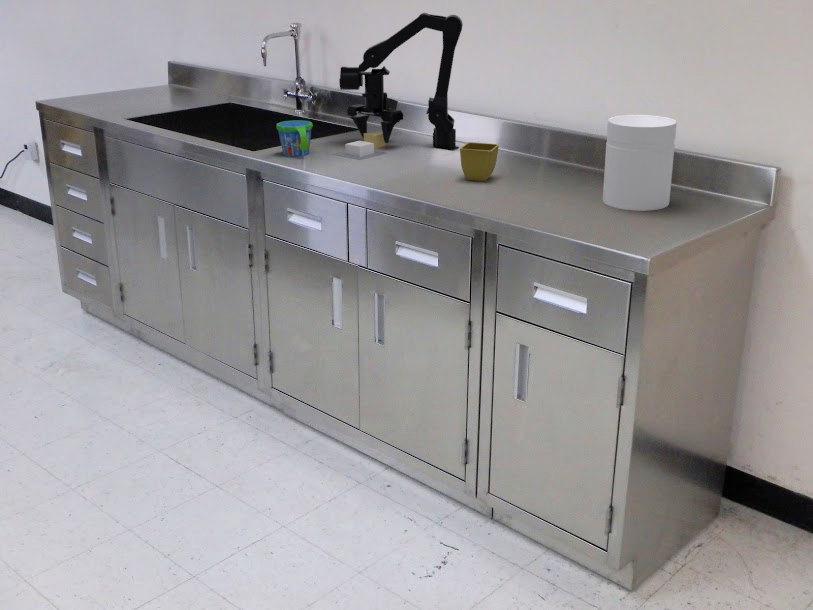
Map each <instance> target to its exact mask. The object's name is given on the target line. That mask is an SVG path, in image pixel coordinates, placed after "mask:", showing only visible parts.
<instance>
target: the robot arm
mask: <svg viewBox="0 0 813 610" xmlns="http://www.w3.org/2000/svg"><path fill="white" fill-rule="evenodd" d="M424 29H429V30H433V31H438V32H441V33H442V51H441V57H440V63H439V68H438V69H439V70H438V76H437V83H436V89H435V93H434V97H430V96H429V98H428V107H427V109H426V115H427V118H428V121H429V122H430V124H431V125H433V126H434V128H433V133H432V146H431V148H433V149H438V150H445V151H455V150H458V149H460V147H459V146H458V145H456V143H457V141H456V140H457V139H456V137H457V136H456V134H457V132H456V131H457V130H456V128H454V126H455V119H454V118H453V116H451V115H450V114H449V103H448V102H449V101H448V100H449V99H448V97H449V96H448V95H449V93H448V92H449V87H450V86H449V85H450V81H451V75H452V68H453V64H454V63H453V62H454V57H455V56H454V55H455V50H456V47H457V44H458V41H459V39H460V36H461V33H462V30H463V19H461V17H460V16H459V15H455V14H450V15H448V16H443V15H438V14H437V15H436V14H429V13H428V12H427V13H426V12H422V13H420V14H419V15H418V17H416V18H415V19H413V20H412V21H410V22H409V23H407V25H405V26H404V27H402V28H401V29H399V31H397V32H395V33H394V34H393V35H391V36H390V37H388V38H387V39H385V40H382V41H380V42H378V43H376V44H374V45H372V46H370V47H368V48H367V49H366V50H365V51H364V53H363V56H362V59H363V60H362V62H361V63H360V64H359V65H358V66H355V67H353V66H341V67H340V71H339V78H338V79H339V80H338V81H339V82H338V83H339V89H340V90H341V91H342V90H343V91H351V90H352V91H356V90H357V91H359V90H360V88H361V87H363V86H364V93H362V94H361V96H362V97H363V98H364V100H365V103H364V104H360V103H358V104H353V105H348V108H347V110H346V111H347V116H348V117H350V120H352V122H354V124H355V126H356V128H357V130H358V132H359V133H360V136H361V137H362V139H363V140H364V133H368V119H369V117H370V116H372V117H373V116H374V117H379V118H381V121H380V126H381V130H382V131H381V132H383V137H384V141H385V143H387V144H388V143H389V142H390V141H389V140H390V138H391V134H392V131H393V129H394V127H395V125H396V124H397V123H399V122H400V121H401V120H404V112H403V111H402V110H401V109H397V107H398V105H399V104H398V102H399V100H395V99H393V98H390V97H388V93H387V92H384V91H385V89H384V85H385V84H384V76H389V75H390V73H391V71H390V70H388V69H387V68H386V66H385V65H383V67H381V68H378V67H379V66H380V65H381V64H383V62H384V61H385V60H386V59H387V58H388V57H389V56H390V55H391V54H392V53H393V52H394V51H396V50H397V48H399V47H400V46H402V45H403V44H405V43H406V42H407V41H409V40H410V39H411V38H413V37H414V36H416V35H417V34H418V33H419V32H421V31H422V30H424ZM370 68H372V69H371V71H368V70H369V69H370Z"/></svg>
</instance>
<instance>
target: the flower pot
mask: <svg viewBox="0 0 813 610" xmlns="http://www.w3.org/2000/svg"><path fill="white" fill-rule="evenodd" d="M499 146H500V144H497V143H496V144H495V143H486V142H475V141H474V142H469V141H468V142H466V143H465V144H464V145H462V146H461V147H459V155H460V165H461V169H462V172H463V175H464V177H465V178H466V180H468V181H476V182H477V181H479V182H486V181H487V180H488V179H490V177H491V175H492V174H493V173H494V170H495V168H496V164H497V160H498V154H499V148H500V147H499Z"/></svg>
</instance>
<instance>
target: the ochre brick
mask: <svg viewBox="0 0 813 610" xmlns="http://www.w3.org/2000/svg"><path fill="white" fill-rule="evenodd" d="M363 141H364V142H370V143H374V149H379V148H382V147H387V146H388V143H385V141H384V137H383V132H382V131H378V130H373V131H369V132H368V131H367V133H364V139H363Z"/></svg>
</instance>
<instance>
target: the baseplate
mask: <svg viewBox="0 0 813 610" xmlns="http://www.w3.org/2000/svg"><path fill="white" fill-rule="evenodd" d="M386 154H387V152H385V151H380V150H375V149H374V153H373V154H369V155H365V156H361V157H359V156H354V155H349V154H346V150H344V151H339V152H334V153H332V154H331V155H333V156H338V157H341V158H342V157H343V158H348V159H352V160H359V161H364V160H366V159H370V158H374V157H379V156H383V155H386Z"/></svg>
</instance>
